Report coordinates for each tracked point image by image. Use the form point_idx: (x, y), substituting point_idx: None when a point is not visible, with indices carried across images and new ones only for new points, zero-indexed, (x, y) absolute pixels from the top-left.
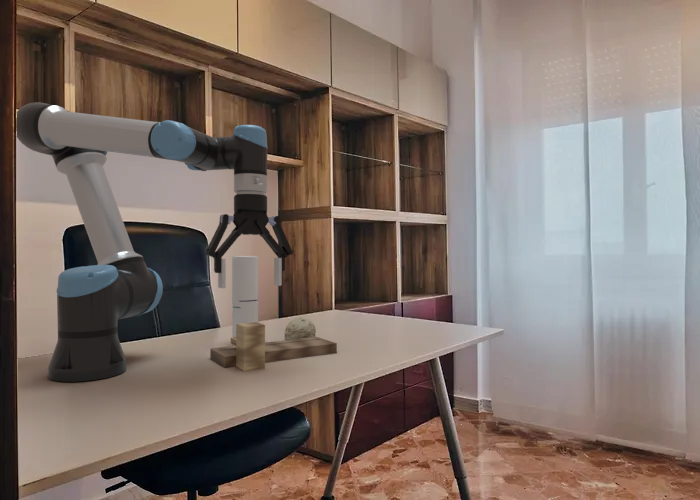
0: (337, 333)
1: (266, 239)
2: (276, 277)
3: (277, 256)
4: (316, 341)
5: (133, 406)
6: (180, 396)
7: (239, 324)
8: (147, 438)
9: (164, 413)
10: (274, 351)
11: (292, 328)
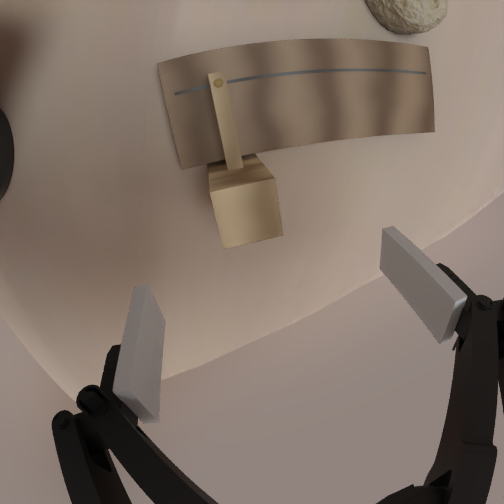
0: None
1: (447, 436)
2: (397, 269)
3: (471, 303)
4: (413, 92)
5: (80, 325)
6: (121, 309)
7: (216, 208)
8: None
9: None
10: (303, 144)
11: (398, 5)
